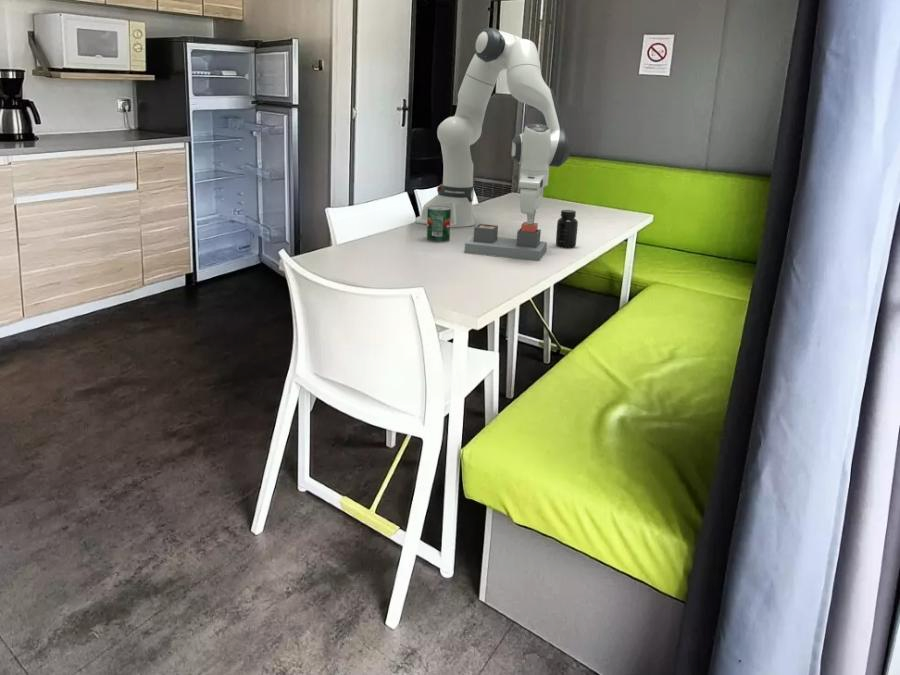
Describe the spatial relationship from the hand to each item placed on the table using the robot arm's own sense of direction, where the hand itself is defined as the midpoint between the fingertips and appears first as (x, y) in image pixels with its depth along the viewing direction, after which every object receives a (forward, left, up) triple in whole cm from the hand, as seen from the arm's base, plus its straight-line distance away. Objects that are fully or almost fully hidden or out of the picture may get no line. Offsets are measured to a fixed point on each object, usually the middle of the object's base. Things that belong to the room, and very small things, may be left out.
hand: (530, 223), depth 226 cm
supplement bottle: (+10, +17, -10) cm, 22 cm away
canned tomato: (-32, +7, -10) cm, 35 cm away
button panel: (-7, 0, -10) cm, 12 cm away
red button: (0, 0, -4) cm, 4 cm away
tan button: (-14, 0, -6) cm, 16 cm away
